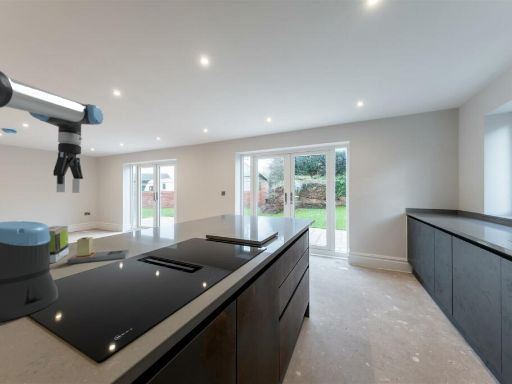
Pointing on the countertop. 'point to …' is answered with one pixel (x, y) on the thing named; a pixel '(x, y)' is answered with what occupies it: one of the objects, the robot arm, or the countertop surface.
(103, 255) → the plate with square holes
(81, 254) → the brass block with knob
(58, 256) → the tea box
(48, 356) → the countertop surface
